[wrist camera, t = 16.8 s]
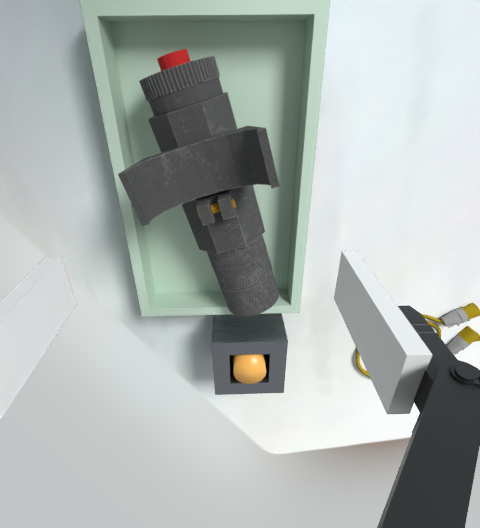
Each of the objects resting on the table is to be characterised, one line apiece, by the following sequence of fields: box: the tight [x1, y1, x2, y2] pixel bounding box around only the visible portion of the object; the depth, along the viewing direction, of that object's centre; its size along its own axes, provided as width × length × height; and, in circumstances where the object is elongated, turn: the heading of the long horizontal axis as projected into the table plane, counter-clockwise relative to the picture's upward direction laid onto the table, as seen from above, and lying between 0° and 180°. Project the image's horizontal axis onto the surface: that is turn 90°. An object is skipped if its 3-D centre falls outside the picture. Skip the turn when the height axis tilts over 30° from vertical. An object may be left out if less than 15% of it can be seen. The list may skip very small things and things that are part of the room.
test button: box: [233, 354, 266, 384], centre depth 38 cm, size 4×4×5 cm
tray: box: [79, 0, 330, 317], centre depth 30 cm, size 27×17×4 cm, turn 1°
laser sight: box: [118, 49, 280, 316], centre depth 27 cm, size 10×22×10 cm, turn 16°
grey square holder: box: [212, 313, 288, 395], centre depth 39 cm, size 8×8×6 cm
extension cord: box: [356, 303, 480, 377], centre depth 43 cm, size 12×16×2 cm
